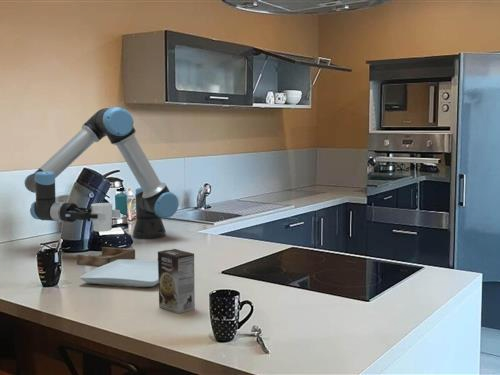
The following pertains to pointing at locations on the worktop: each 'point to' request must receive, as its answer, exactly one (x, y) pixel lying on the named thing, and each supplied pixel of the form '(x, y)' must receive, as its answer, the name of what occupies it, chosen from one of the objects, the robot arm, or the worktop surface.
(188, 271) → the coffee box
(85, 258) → the caddy
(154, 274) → the square plate
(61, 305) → the worktop surface
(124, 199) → the green pump bottle
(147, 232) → the robot arm
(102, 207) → the white cup
